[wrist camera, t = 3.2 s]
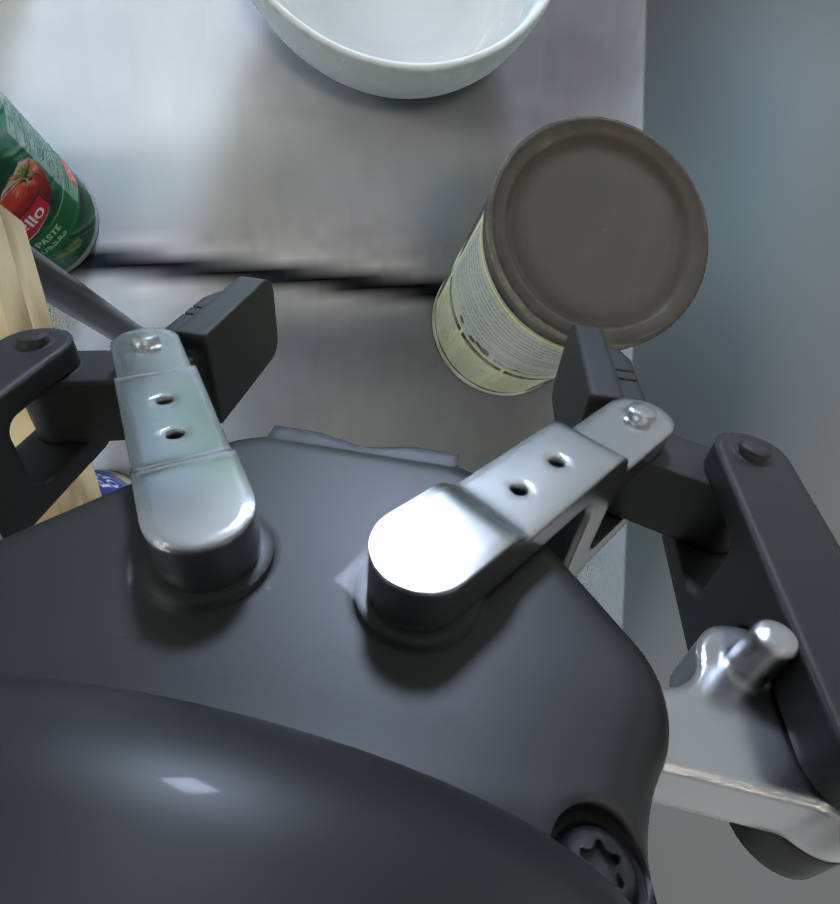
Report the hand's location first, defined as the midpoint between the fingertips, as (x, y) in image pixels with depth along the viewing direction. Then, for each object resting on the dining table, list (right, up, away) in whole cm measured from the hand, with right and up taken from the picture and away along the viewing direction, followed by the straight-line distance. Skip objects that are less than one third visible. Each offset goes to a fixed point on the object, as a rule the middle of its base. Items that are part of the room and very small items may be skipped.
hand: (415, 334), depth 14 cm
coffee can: (+6, +6, +22) cm, 24 cm away
